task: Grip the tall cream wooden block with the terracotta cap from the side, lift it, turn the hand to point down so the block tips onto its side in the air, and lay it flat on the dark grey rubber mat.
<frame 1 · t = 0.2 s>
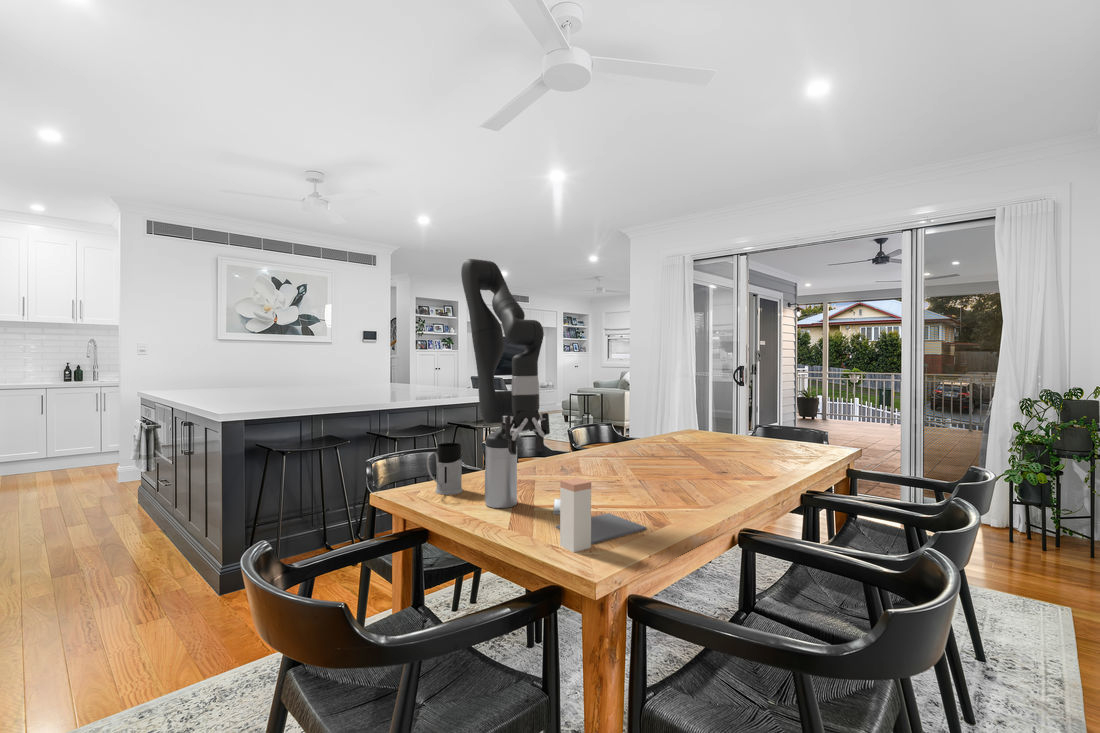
hand: (526, 452, 138), 17 cm above the table, tool pointing down, fingers open, 8 cm apart
rubber mat: (601, 528, 129), on the table
hard drive: (567, 510, 147), on the table
grey coffee pot: (443, 493, 162), on the table
capped block: (575, 546, 116), on the table
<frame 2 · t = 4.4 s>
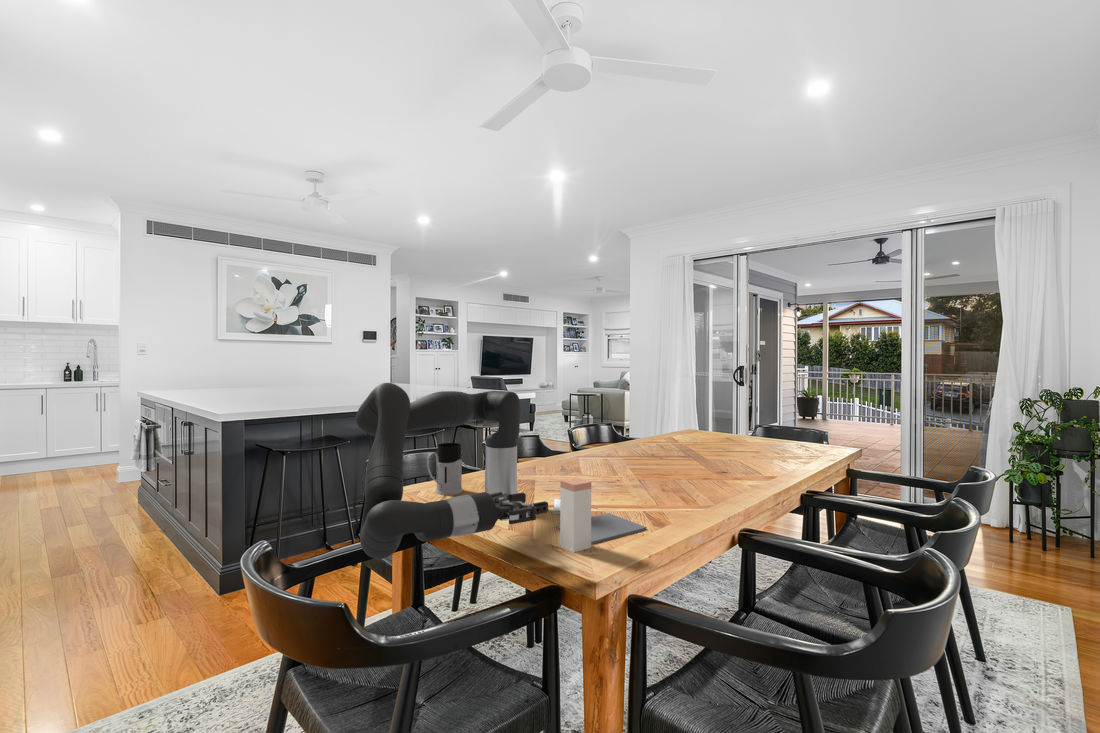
hand: (535, 501, 110), 12 cm above the table, tool horizontal, fingers open, 8 cm apart
nothing on the table moved.
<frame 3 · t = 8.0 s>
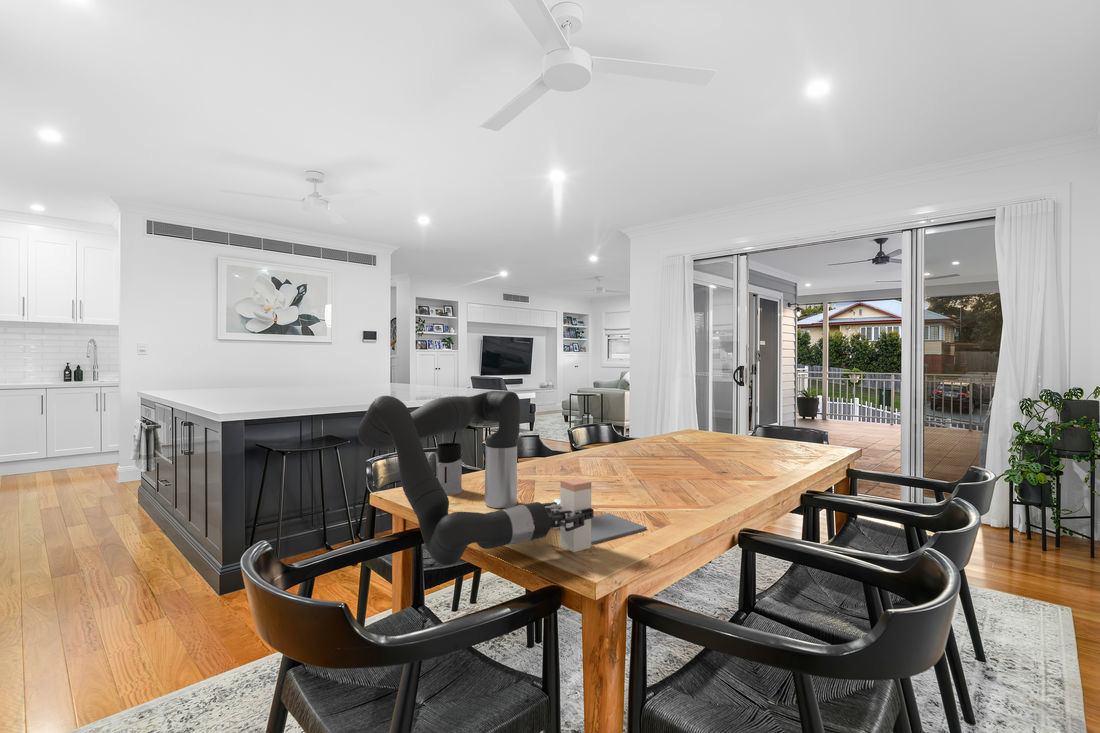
hand: (584, 509, 118), 8 cm above the table, tool horizontal, fingers closed on capped block, 5 cm apart
capped block: (575, 546, 116), on the table, touching gripper
everything else where it was.
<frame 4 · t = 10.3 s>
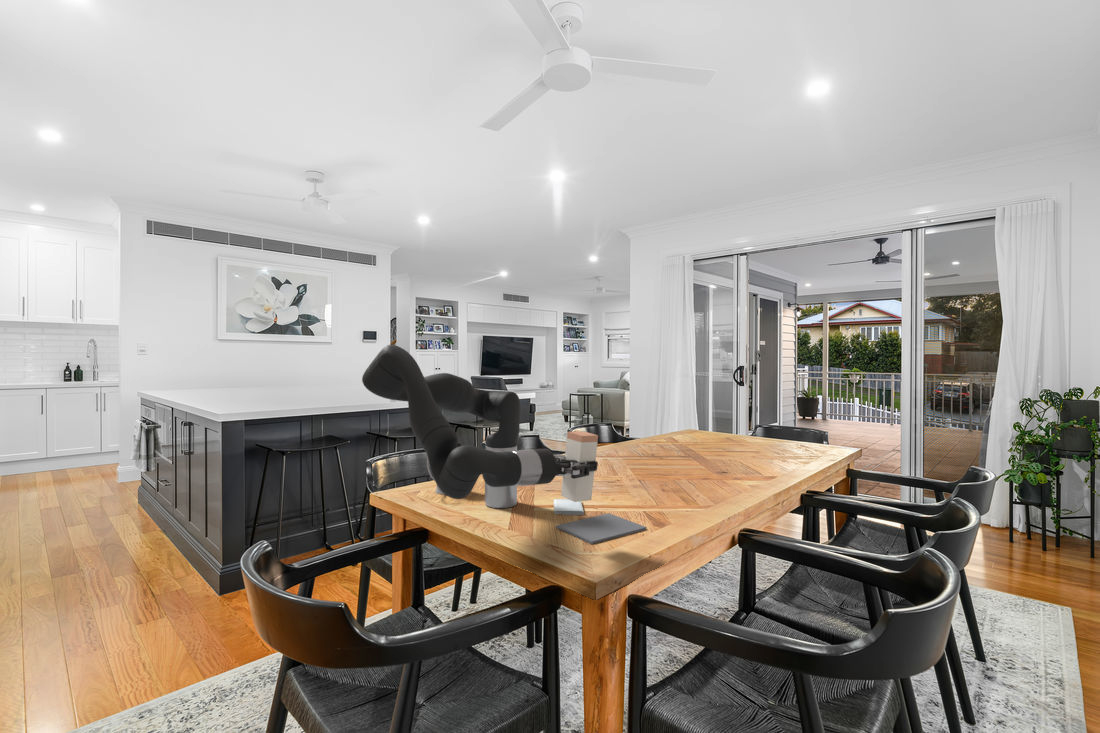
hand: (588, 463, 119), 19 cm above the table, tool horizontal, fingers closed on capped block, 5 cm apart
capped block: (576, 497, 118), point 11 cm above the table, tilted 6°, touching gripper
everything else where it was.
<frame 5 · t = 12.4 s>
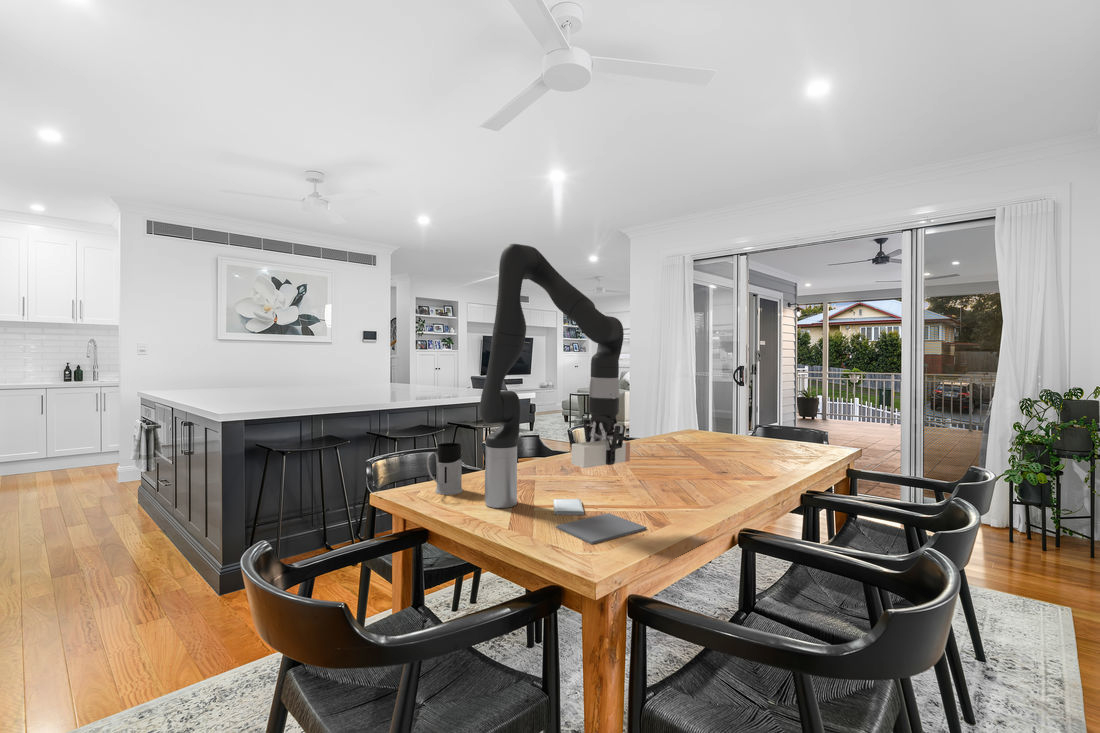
hand: (602, 462, 129), 17 cm above the table, tool pointing down, fingers closed on capped block, 5 cm apart
capped block: (577, 455, 124), point 19 cm above the table, tilted 90°, touching gripper
everything else where it was.
when the fingers open (2 cm above the table, at t = 15.5 s): capped block drops 2 cm, resting on rubber mat.
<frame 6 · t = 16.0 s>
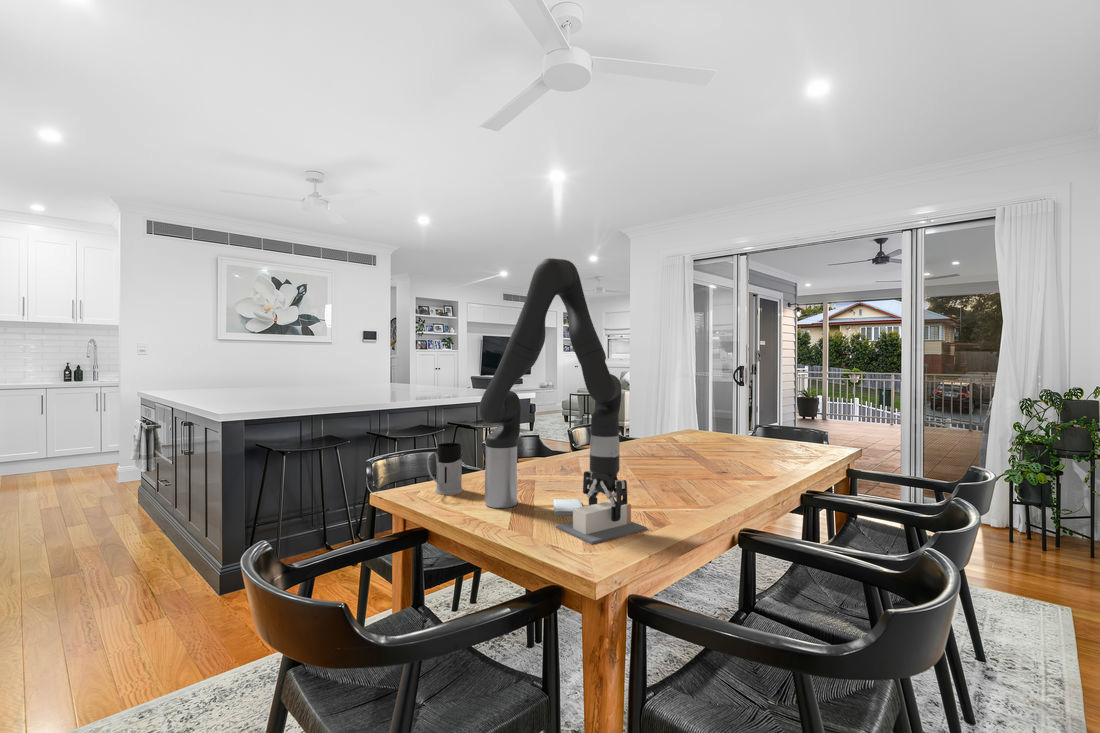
hand: (604, 516, 129), 3 cm above the table, tool pointing down, fingers open, 8 cm apart
capped block: (579, 521, 125), point 3 cm above the table, tilted 90°, touching rubber mat
everything else where it was.
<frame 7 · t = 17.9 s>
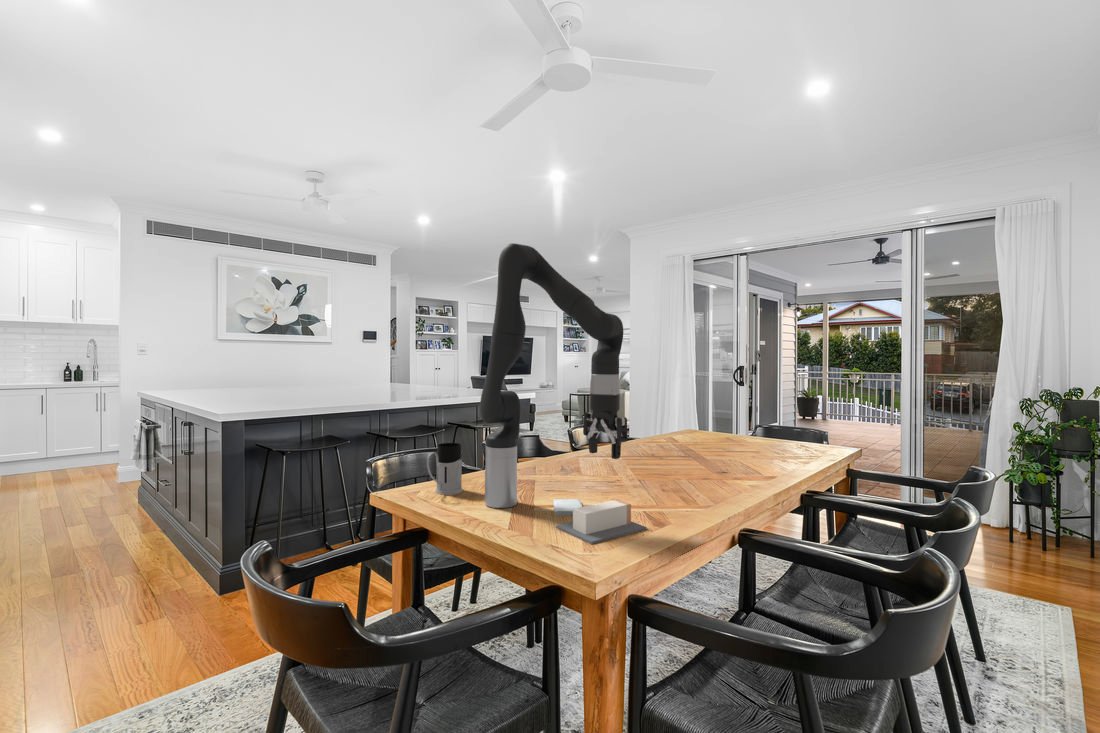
hand: (604, 455, 130), 18 cm above the table, tool pointing down, fingers open, 8 cm apart
nothing on the table moved.
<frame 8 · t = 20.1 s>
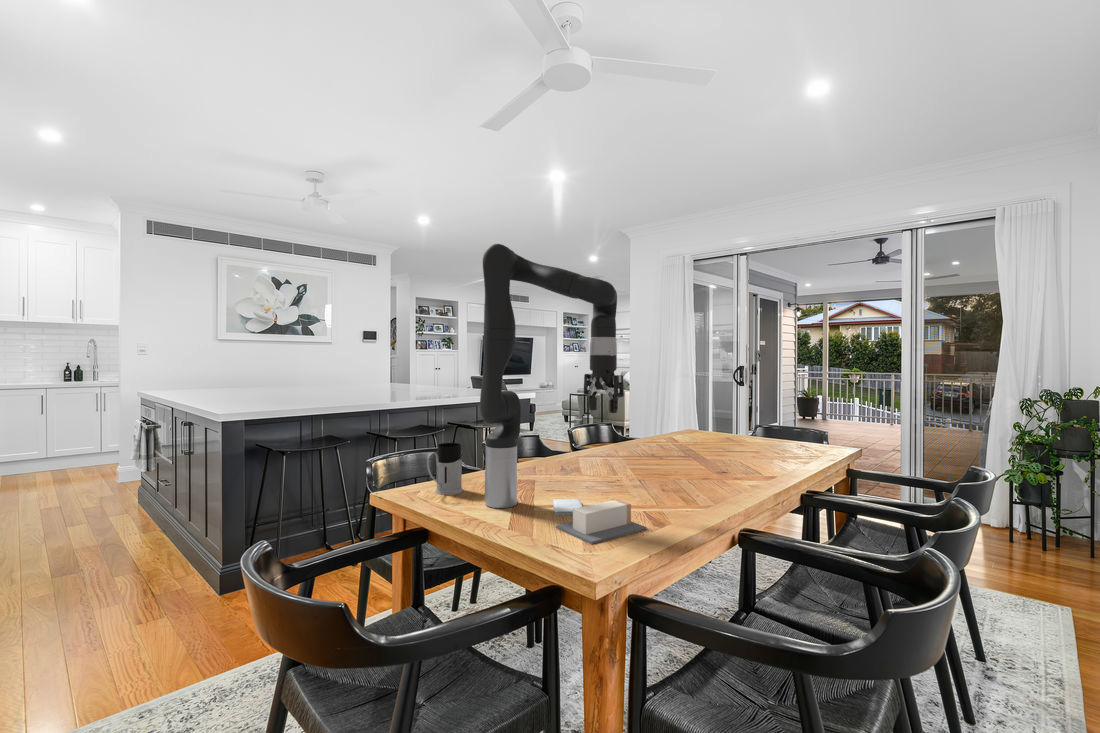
hand: (602, 411, 143), 28 cm above the table, tool pointing down, fingers open, 8 cm apart
nothing on the table moved.
at the end: capped block tilted 90°; capped block inside the target area on the rubber mat (7.1 cm from its centre), point 3.1 cm above the rubber mat's base; the gripper is holding nothing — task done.
